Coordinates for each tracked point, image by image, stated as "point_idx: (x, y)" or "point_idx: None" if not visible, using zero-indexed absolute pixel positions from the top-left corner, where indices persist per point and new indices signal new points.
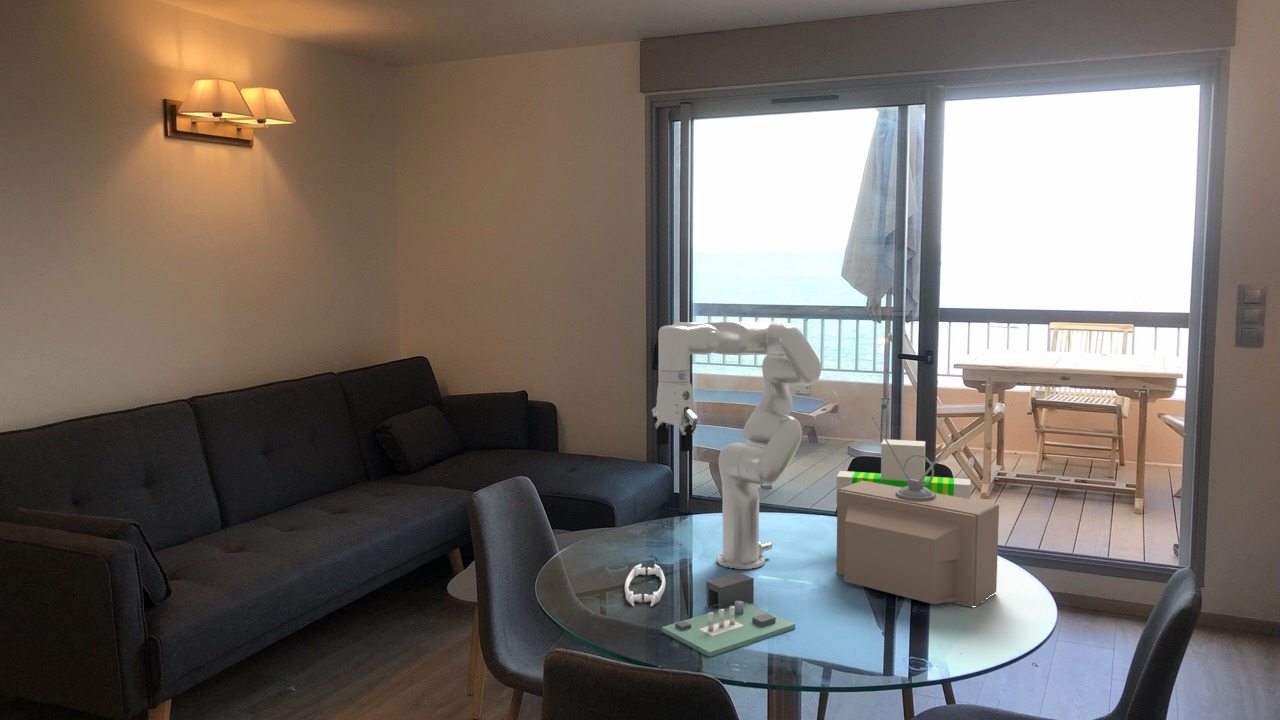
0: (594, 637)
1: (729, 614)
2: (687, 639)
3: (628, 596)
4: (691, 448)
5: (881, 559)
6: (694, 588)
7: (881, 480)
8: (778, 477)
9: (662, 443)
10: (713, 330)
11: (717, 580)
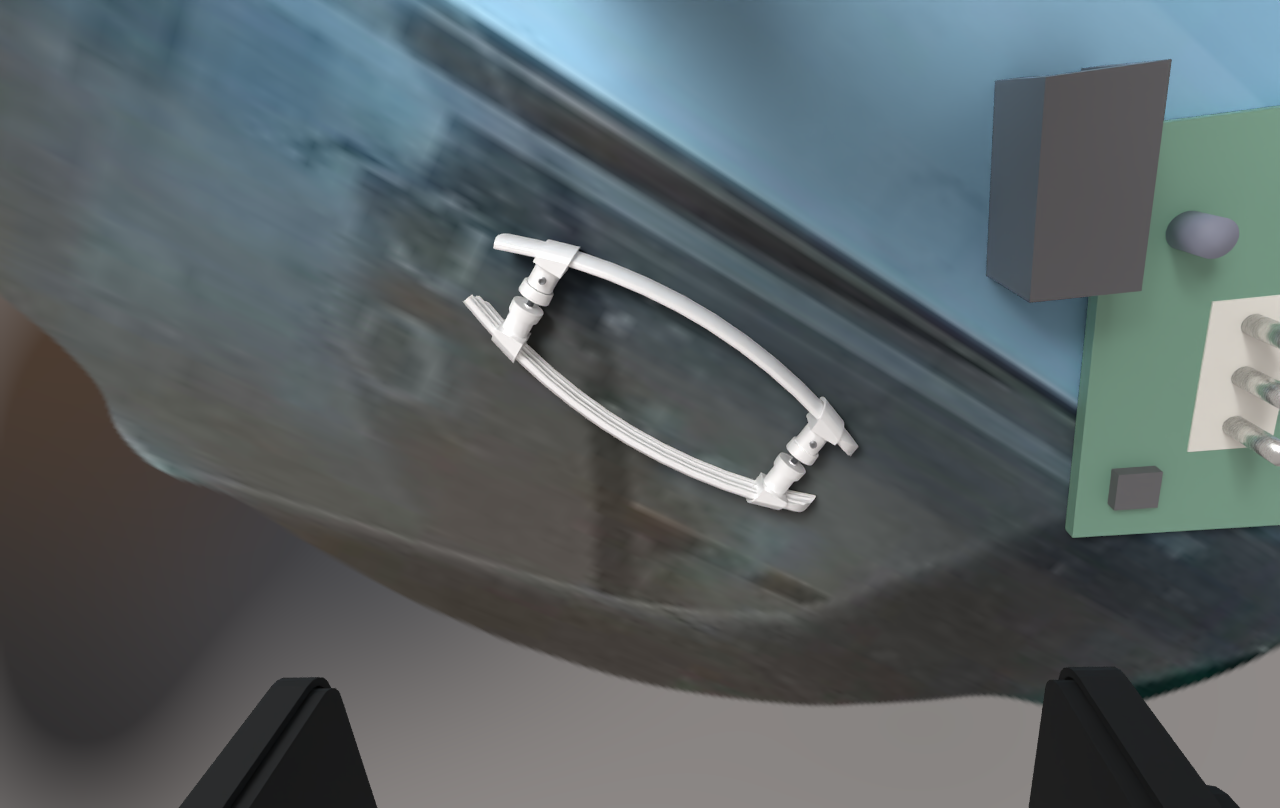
0: (956, 691)
1: (1274, 346)
2: (1222, 524)
3: (776, 509)
4: (1126, 698)
5: None
6: (785, 205)
7: None
8: None
9: (362, 792)
10: None
11: (1058, 250)
